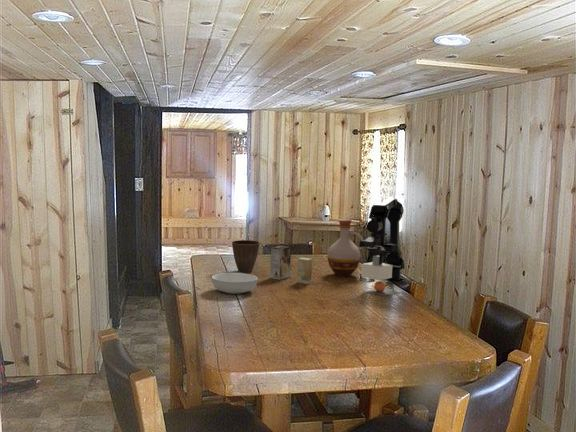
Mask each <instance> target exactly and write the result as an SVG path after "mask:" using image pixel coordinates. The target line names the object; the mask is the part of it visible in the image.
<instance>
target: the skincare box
mask: <svg viewBox="0 0 576 432" xmlns="http://www.w3.org/2000/svg"><path fill="white" fill-rule="evenodd" d="M312 271H313V258H309V257H300V258H297V273H296V283H298V284H305V285H309V284H312Z"/></svg>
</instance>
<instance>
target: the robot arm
mask: <svg viewBox="0 0 576 432" xmlns="http://www.w3.org/2000/svg"><path fill="white" fill-rule="evenodd" d="M403 216H404V207H403V204H402V203H401V202H400V201H398V198H396V197H386V199H385V200H384V201H382V202H380V203H374V204H373V205H372V206H371V208H370V212H369V215H368V219H370V220H369V221H368V222H366V223H367V224H366V230H367V231H368V232H369V233H370V236H369V237H367V238H365V239H363V240H362V241H361V240H359V243H358V247H359V248H361V247H364V248H365V250H367V251H368V252H369V254H370V256H371V259H372V261H373V256H375V255H378V253H379V256H380V260H379V262H380V264H382V263H384V260H385V264H390V265H392V278H388V279H387V280H389V281H391V280H392V281H395V282H396V281H401V280H400V276H401V277H402V275H401V273H402V272H401V271H402V270H404V269H405V266H406V265H405V260H404V257H403V253H402V251H401V250H400V221H401V219H402V218H403ZM386 220H388V222H389V229H390V230H389V243H387V241H386V236H387V235H388V234H387V233H386V226H387V225H386V224H387V223H386V222H387V221H386ZM378 248H379V249H380V250H378Z"/></svg>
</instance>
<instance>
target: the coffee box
mask: <svg viewBox="0 0 576 432" xmlns="http://www.w3.org/2000/svg"><path fill="white" fill-rule="evenodd" d="M291 251H292V250H291V246H288V245H287V246H286V245H278V246H272V247H270V272H269V273H270V277H269V278H271V279H274V280H279V281H280V280H284V279H287V278H290V277H291V256H292V255H291Z"/></svg>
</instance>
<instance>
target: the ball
mask: <svg viewBox="0 0 576 432" xmlns="http://www.w3.org/2000/svg"><path fill="white" fill-rule="evenodd" d="M373 287H374V288H373V289H375V290H376V291H377V292H382V291H384V289H386V285H385V283H384V282H383V281H382V280H377V281H376V282H375V284H374V286H373Z"/></svg>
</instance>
